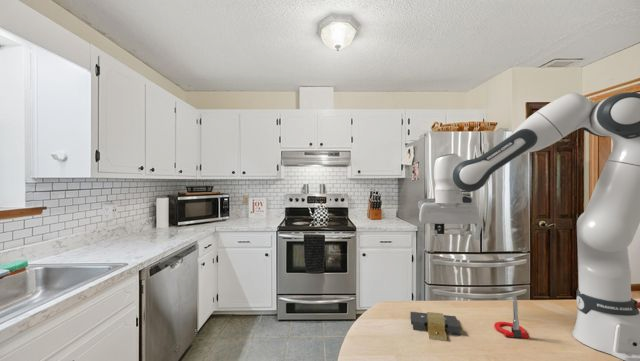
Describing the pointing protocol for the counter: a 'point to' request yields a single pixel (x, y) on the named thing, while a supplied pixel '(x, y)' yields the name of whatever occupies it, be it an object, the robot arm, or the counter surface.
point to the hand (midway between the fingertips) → (448, 235)
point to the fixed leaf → (421, 319)
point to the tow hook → (513, 324)
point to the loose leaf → (436, 326)
